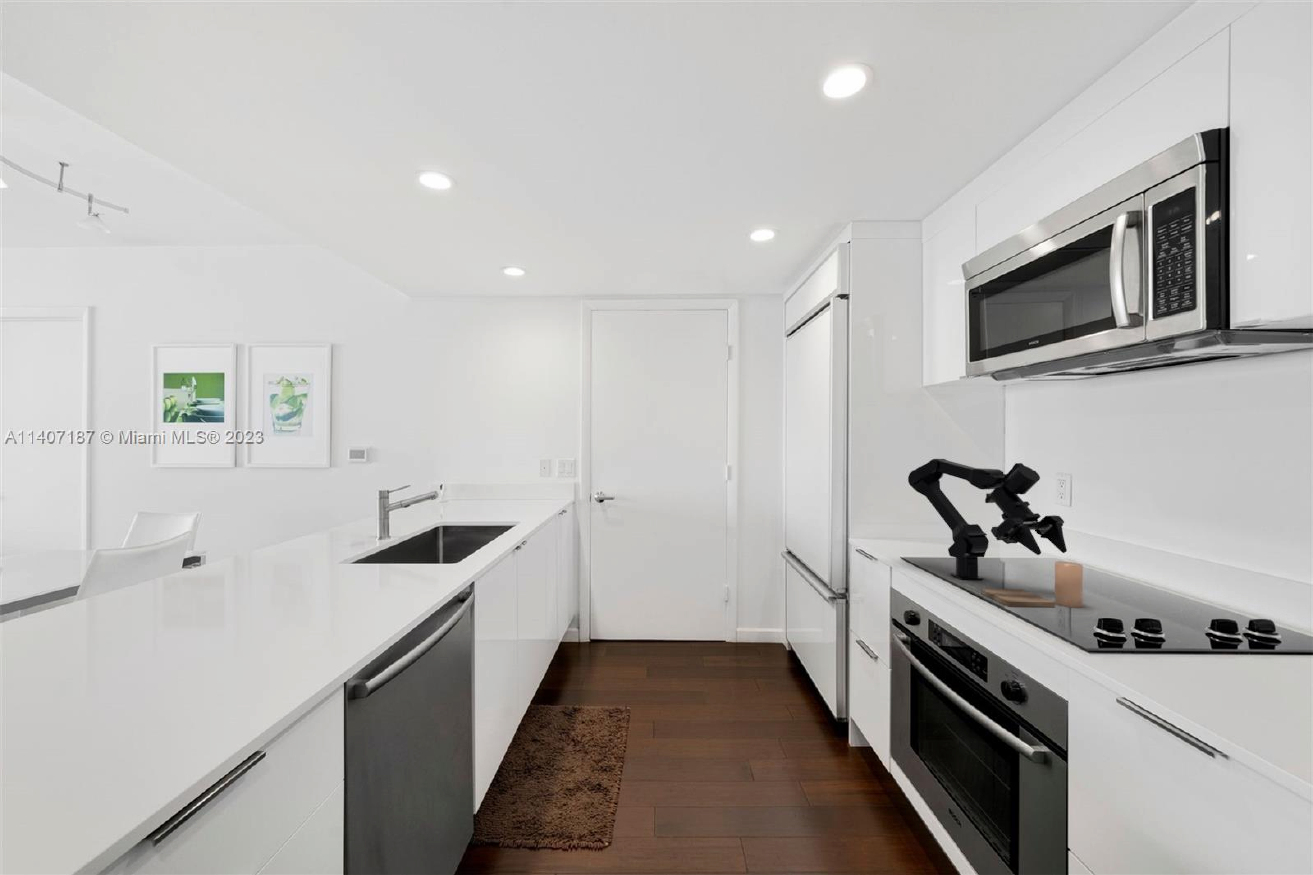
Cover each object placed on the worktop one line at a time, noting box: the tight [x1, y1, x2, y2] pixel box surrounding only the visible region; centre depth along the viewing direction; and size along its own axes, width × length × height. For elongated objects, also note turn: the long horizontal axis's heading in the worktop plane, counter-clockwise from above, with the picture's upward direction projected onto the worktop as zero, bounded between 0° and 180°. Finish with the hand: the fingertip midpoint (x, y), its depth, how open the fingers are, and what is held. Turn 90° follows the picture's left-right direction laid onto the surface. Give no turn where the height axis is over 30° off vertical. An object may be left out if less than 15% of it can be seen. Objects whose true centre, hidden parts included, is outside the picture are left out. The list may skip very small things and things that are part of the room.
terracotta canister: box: [1054, 560, 1084, 608], centre depth 138 cm, size 6×6×10 cm
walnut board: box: [980, 588, 1056, 608], centre depth 141 cm, size 12×11×1 cm
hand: (1052, 553), depth 142 cm, fingers open, 9 cm apart
